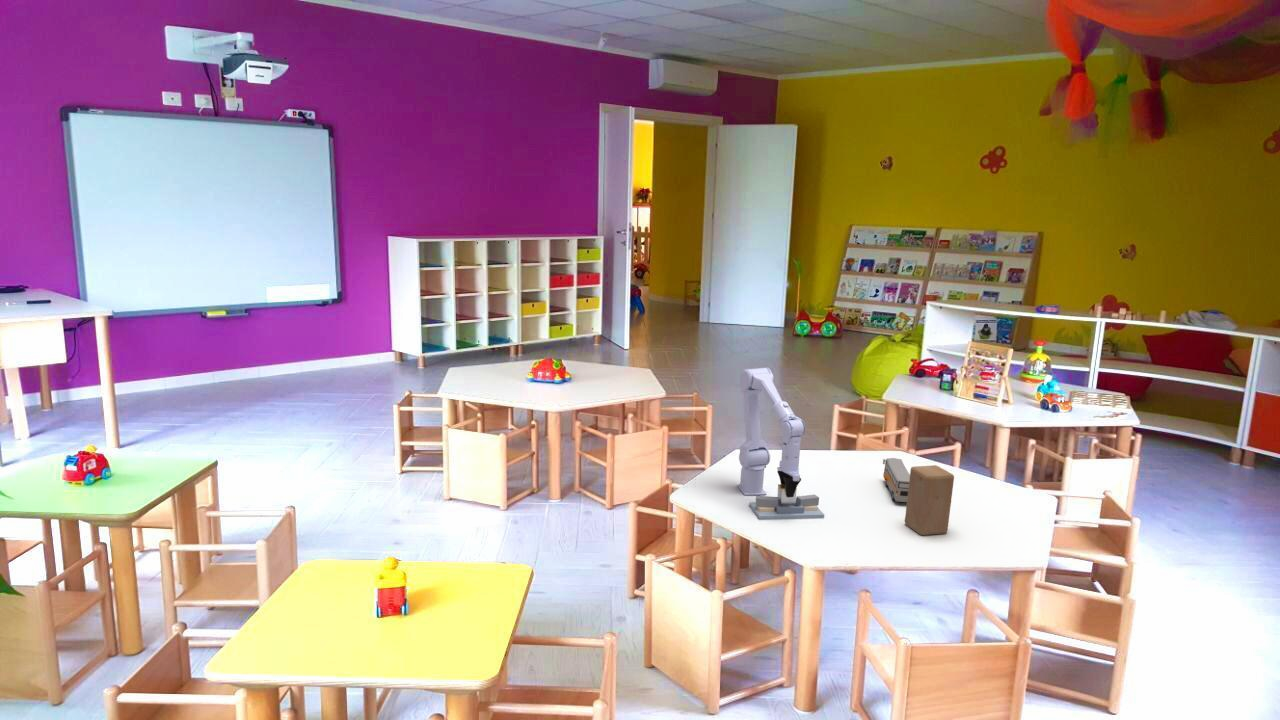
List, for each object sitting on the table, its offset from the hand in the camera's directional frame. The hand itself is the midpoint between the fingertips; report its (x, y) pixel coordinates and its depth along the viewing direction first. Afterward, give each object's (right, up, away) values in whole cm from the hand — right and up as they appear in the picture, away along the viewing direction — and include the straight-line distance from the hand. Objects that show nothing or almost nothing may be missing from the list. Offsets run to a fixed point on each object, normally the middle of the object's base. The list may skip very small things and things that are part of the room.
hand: (787, 494), depth 280 cm
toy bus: (+43, -3, +23) cm, 49 cm away
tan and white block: (0, -3, +1) cm, 3 cm away
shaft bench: (0, -6, +1) cm, 6 cm away
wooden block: (+43, -10, -8) cm, 45 cm away
